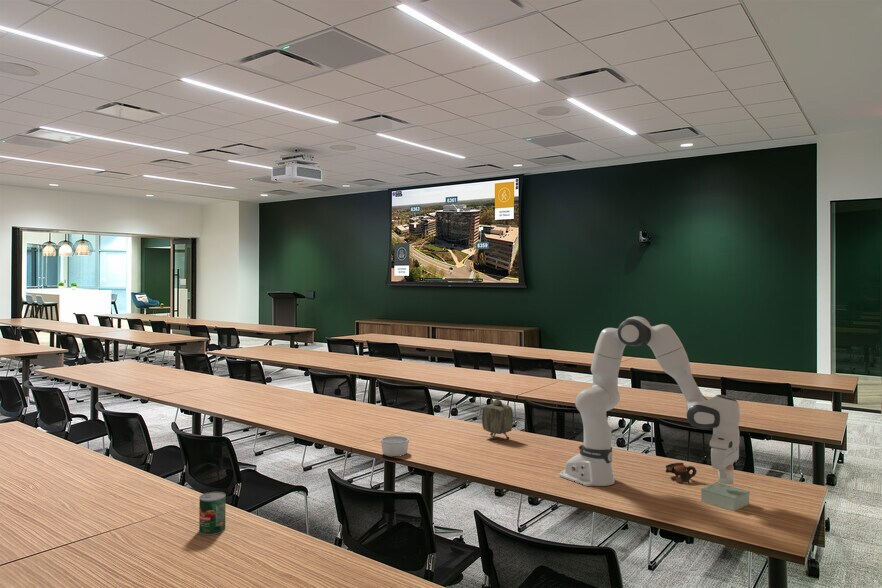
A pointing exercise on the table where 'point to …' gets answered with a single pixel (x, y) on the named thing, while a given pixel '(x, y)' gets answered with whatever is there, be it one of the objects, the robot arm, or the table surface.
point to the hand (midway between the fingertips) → (725, 476)
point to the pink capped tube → (727, 475)
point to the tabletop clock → (497, 417)
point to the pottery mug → (681, 471)
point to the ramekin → (394, 445)
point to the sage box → (725, 496)
